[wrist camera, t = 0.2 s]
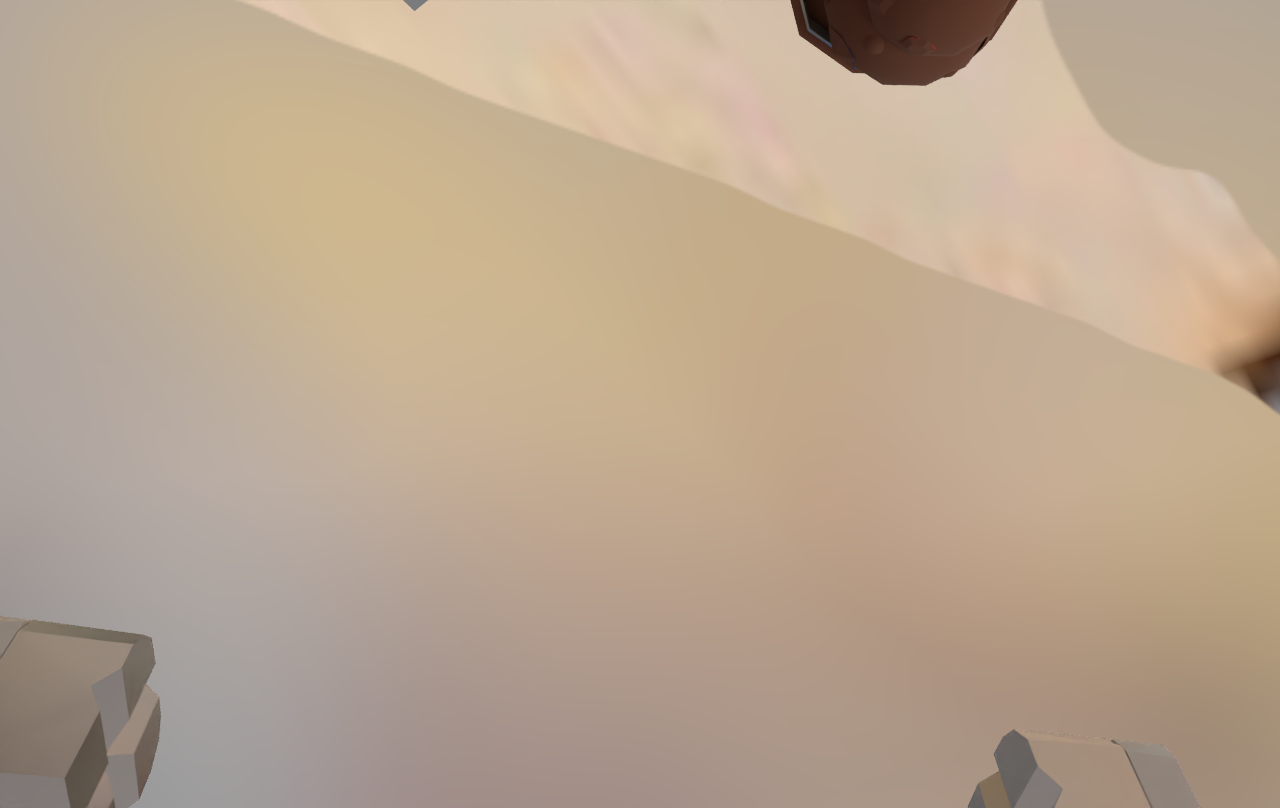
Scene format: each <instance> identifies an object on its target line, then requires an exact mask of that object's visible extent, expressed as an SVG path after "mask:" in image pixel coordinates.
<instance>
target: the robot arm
mask: <svg viewBox="0 0 1280 808" xmlns="http://www.w3.org/2000/svg"><path fill="white" fill-rule="evenodd" d="M154 665H155V656H154V650H153V644H152V638H151V637H148V636H145V635H141V634H134V633H126V632H119V631H112V630H104V629H97V628H90V627H82V626H75V625H68V624H60V623H53V622H45V621H38V620H26V619H18V618H10V617H2V616H0V808H128V807H129V806H131V805H132V804H134V803H135V802H136V801H138V800H139V799H140V796H141V794H142V791H143V789H144V786H145V784H146V782H147V779H148V777H149V774H150V772H151V769H152V765H153V761H154V757H155V753H156V749H157V745H158V741H159V732H160V719H161V712H160V700H159V696H158V695H157V694H156V693H155V692H154V691H153V690H152V689H151V688H150V687H149V686H148V685H147V684H146V683H147V680H148V678H149V676H150V674H151V672H152V669H153V668H154ZM994 756H995V759H996V762H997V765H998V768H999V771H998V772H997V773H995V774H993V775H991V776H990V777H988V778H986V779H985V780H983V781H981V782H980V783H978V785H977V787H976V790H975V792H974V794H973V796H972V798H971V800H970V802H969V805H968V808H1200V806H1199V804H1198V802H1197V800H1196V798H1195V796H1194V794H1193V792H1192V790H1191V788H1190V786H1189V784H1188V782H1187V780H1186V778H1185V776H1184V774H1183V772H1182V770H1181V769H1180V766H1179V764H1178V762H1177V760H1176V759H1175V757H1174V755H1173V754H1172V753H1171V752H1170V751H1169V750H1167V749H1166V748H1165V747H1164V746H1163V745H1157V744H1148V743H1139V742H1129V741H1119V740H1108V739H1105V738H1095V737H1085V736H1075V735H1065V734H1055V733H1045V732H1035V731H1024V730H1012V731H1011V732H1009V733H1008V734H1007V735H1005V736H1004V737H1003V738H1002V740H1001V742H1000V743H999V745H998V747H997V749H996V751H995V753H994Z"/></svg>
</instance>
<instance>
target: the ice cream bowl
mask: <svg viewBox="0 0 1280 808" xmlns="http://www.w3.org/2000/svg"><path fill="white" fill-rule="evenodd" d="M1016 2H1017V0H791V4H792V8H793V12H794V16H795V20H796V24H797V28H798V31H799V35H800V36H801V37H803V38H804V39H805V40H807V41H808V42H810V43H811V44H813V45H814V46H815V47H817V48H818V49H820V50H821V51H822V52H824V53H825V54H827V55H828V56H829V57H831V58H832V59H834V60H835V61H837V62H838V63H839V64H841V65H842V66H844V67H845V68H846V69H848V70H849V71H851V72H852V73H865V74H867V75H868V76H870V77H871V78H873V79H875V80H876V81H878V82H879V83H881V84H882V85H920V86H926V85H928V84H930V83H932V82H934V81H936V80H938V79H940V78H943V77H944V78H945V77H951V76H953V75H954V74H955V73H956V72H957V71H958V70H960V69H962V68H964V67H965V66H966V65H967V64H968V63H969V61H970V60H971V59H972V57H973V56H975V55H976V54H977V53H978V52H979V51H980V50H981V49H982V48H983V47H984V46H985V45H986V44H987V43H988V41H990V40H992V38H993V37H994V35H995V34H996V32H997V31H998V29H999V28H1000V26H1001V25H1002V23H1003V22H1004V20H1005V19H1006V17H1007V15H1008V14H1009V12H1010V11H1011V9H1012V8H1013V6H1014V5H1015V3H1016Z"/></svg>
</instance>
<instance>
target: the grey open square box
mask: <svg viewBox="0 0 1280 808" xmlns="http://www.w3.org/2000/svg"><path fill="white" fill-rule="evenodd" d="M404 1H405V2H406V3H407V4H408V5H409V6H410V7H411V8H412V9H413V10H414V11H415V10H416V9H418V8H419V7H420V6H421V5H423V4H424V3H425V2H426V1H428V0H404Z"/></svg>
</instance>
